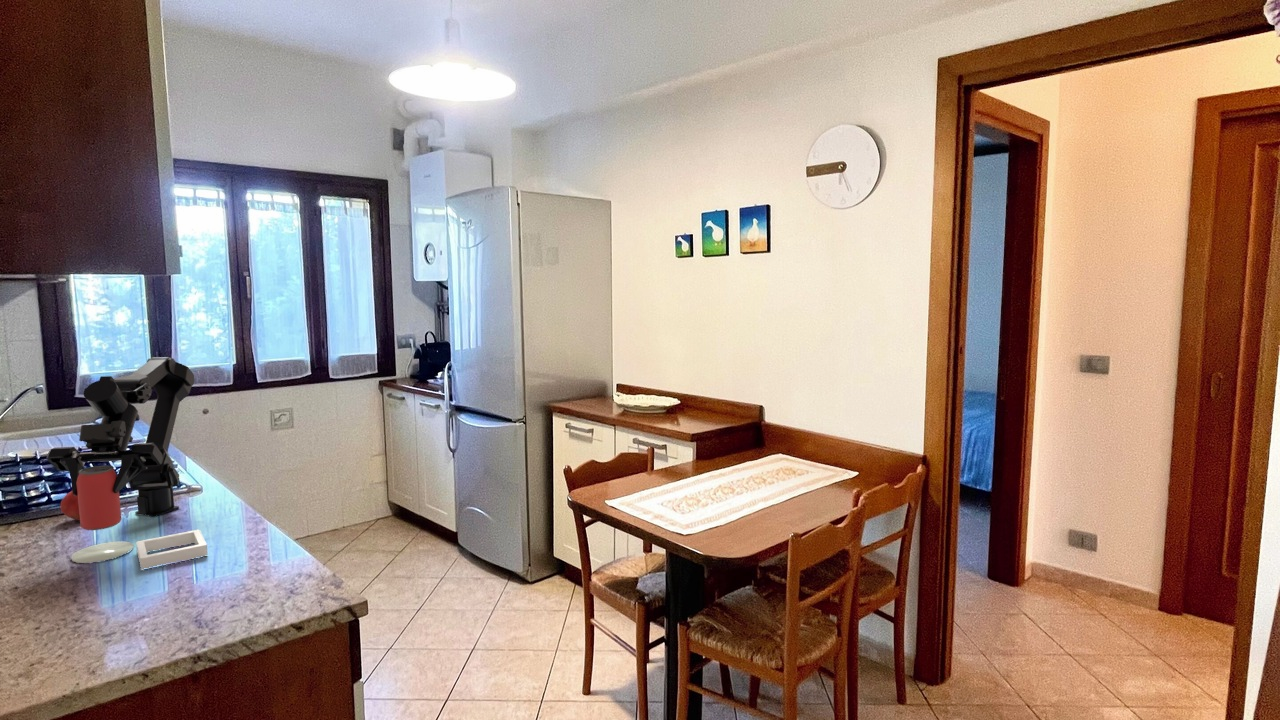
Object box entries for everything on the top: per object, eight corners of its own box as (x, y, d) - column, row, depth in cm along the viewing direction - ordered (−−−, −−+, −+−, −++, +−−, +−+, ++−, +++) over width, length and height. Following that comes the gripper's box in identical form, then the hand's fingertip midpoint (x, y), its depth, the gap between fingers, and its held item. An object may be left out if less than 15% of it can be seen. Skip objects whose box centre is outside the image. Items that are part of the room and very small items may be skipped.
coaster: (111, 541, 145) (110, 539, 145) (145, 547, 142) (144, 544, 142) (59, 559, 136) (59, 557, 136) (94, 566, 133) (94, 563, 133)
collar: (137, 553, 139) (136, 541, 139) (200, 540, 146) (199, 529, 146) (141, 570, 131) (140, 558, 130) (207, 556, 138) (206, 544, 138)
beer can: (123, 526, 138) (117, 469, 136) (81, 534, 134) (75, 475, 132) (120, 517, 143) (115, 462, 141) (80, 524, 139) (74, 468, 137)
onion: (56, 522, 156) (52, 488, 155) (84, 514, 162) (81, 482, 161) (71, 525, 154) (68, 492, 153) (99, 517, 160) (96, 485, 159)
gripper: (46, 409, 137) (18, 478, 127) (152, 405, 141) (133, 471, 132) (71, 437, 145) (47, 504, 136) (170, 433, 150) (153, 497, 141)
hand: (95, 493), depth 136 cm, fingers closed on beer can, 6 cm apart
